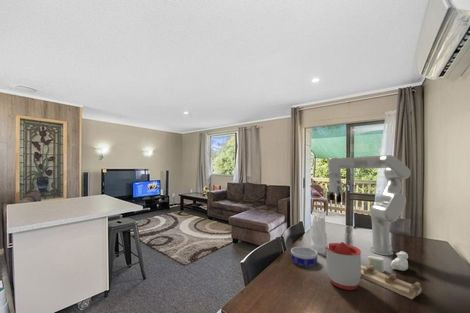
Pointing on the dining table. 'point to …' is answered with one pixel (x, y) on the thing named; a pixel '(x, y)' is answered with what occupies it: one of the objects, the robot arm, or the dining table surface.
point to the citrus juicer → (343, 265)
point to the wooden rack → (390, 282)
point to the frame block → (376, 263)
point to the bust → (400, 261)
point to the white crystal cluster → (319, 234)
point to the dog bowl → (304, 256)
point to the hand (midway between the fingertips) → (335, 201)
